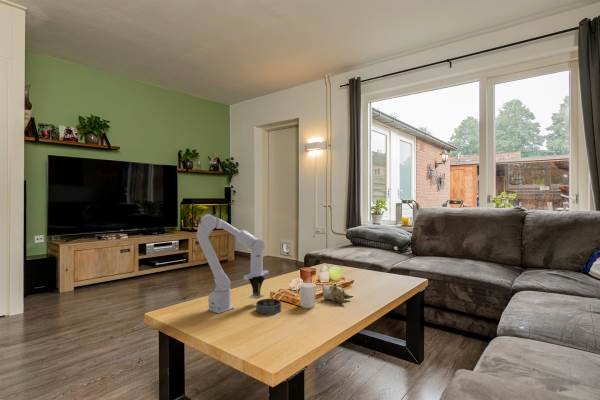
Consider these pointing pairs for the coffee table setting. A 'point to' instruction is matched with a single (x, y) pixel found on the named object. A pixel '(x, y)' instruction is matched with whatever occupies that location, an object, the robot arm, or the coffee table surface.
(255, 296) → the wood wick
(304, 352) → the coffee table surface
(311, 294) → the white cup
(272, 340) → the coffee table surface
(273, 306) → the candle tin
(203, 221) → the robot arm
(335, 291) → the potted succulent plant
